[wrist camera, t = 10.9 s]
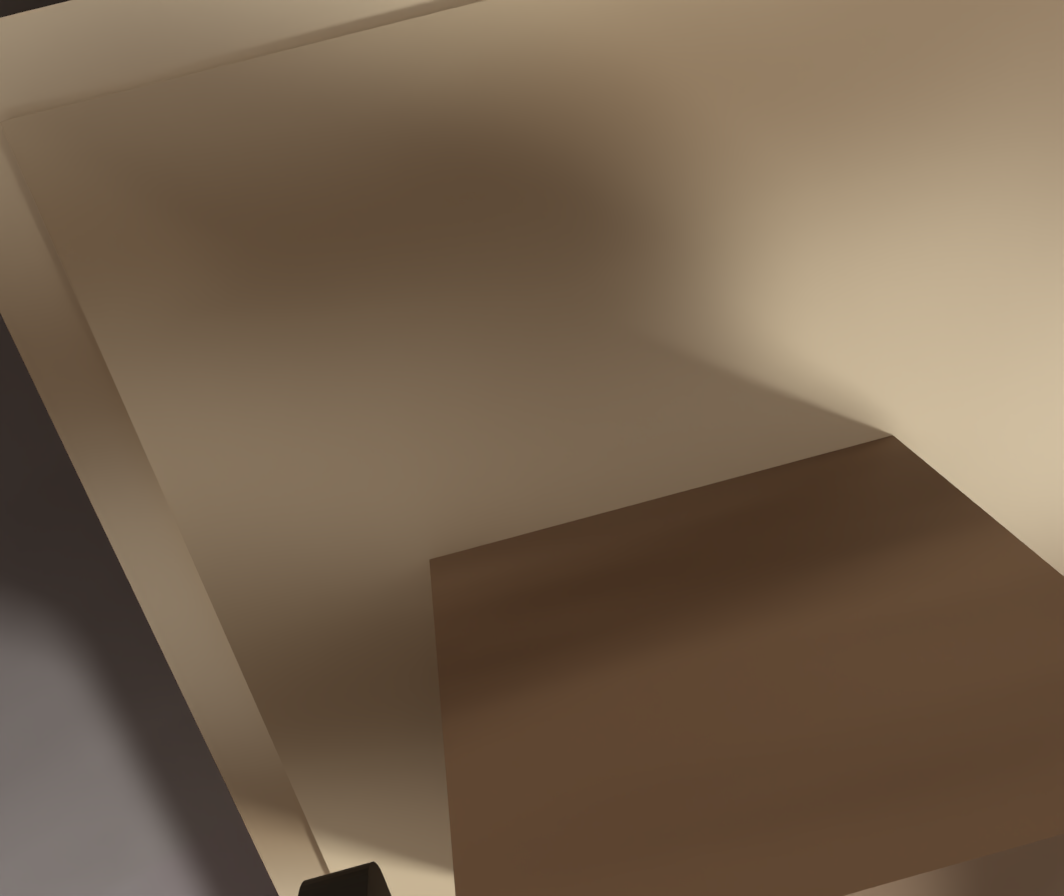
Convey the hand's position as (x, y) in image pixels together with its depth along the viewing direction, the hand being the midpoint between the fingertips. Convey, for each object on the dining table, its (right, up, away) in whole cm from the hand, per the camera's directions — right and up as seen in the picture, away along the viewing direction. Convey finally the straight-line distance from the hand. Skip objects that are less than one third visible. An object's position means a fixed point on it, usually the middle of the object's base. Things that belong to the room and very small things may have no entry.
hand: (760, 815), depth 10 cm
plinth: (-1, +2, +4) cm, 5 cm away
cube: (0, +1, +2) cm, 2 cm away
